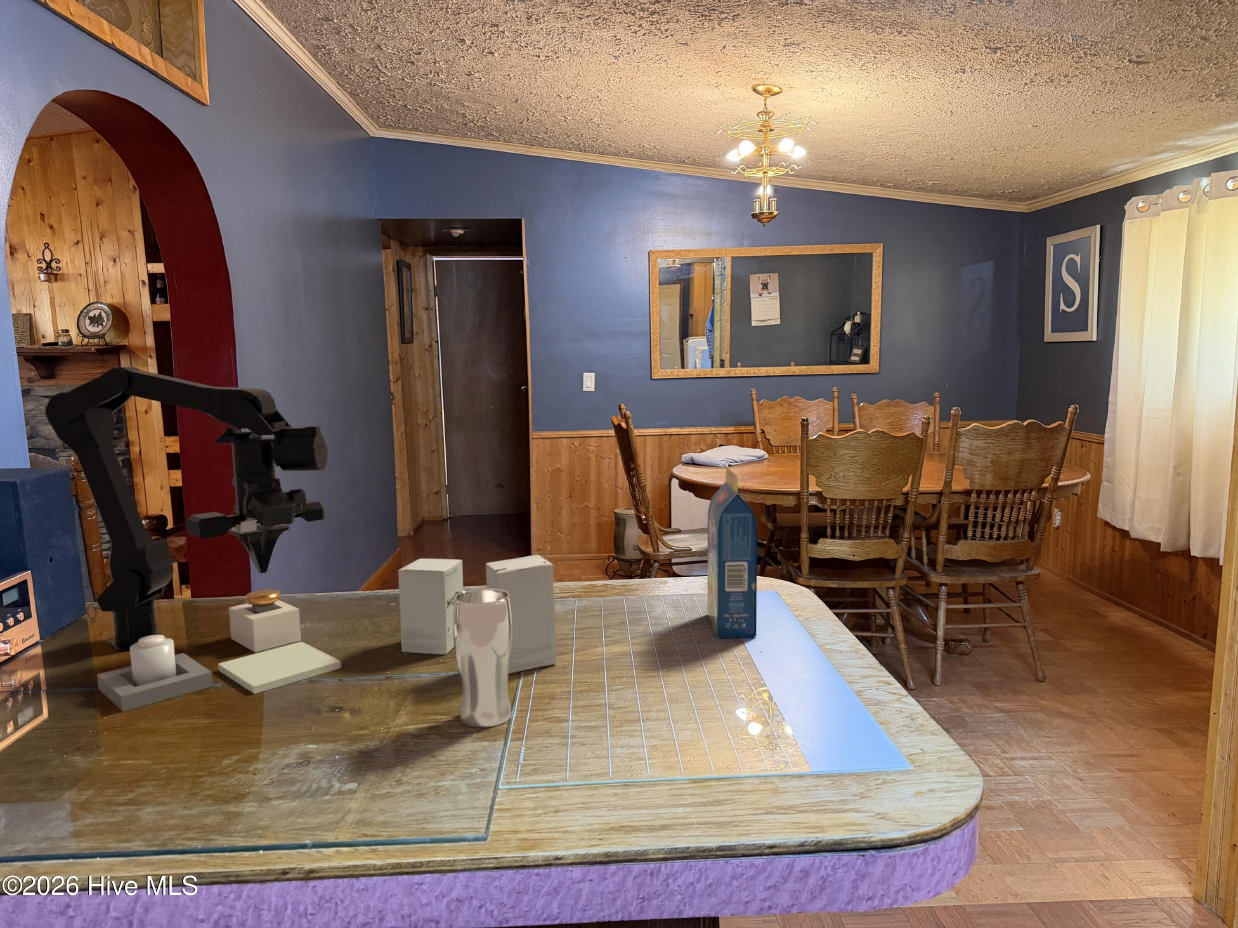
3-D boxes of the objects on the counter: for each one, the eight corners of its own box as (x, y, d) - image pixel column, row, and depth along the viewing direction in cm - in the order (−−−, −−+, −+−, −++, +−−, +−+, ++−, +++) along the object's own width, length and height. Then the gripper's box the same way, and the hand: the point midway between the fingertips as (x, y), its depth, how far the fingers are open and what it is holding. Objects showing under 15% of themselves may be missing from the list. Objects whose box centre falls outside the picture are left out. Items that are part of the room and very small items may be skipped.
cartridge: (128, 688, 108) (124, 639, 107) (169, 677, 111) (165, 629, 110) (140, 698, 104) (136, 647, 103) (182, 687, 108) (178, 637, 107)
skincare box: (543, 652, 119) (540, 553, 117) (558, 665, 114) (556, 562, 112) (487, 662, 115) (484, 560, 113) (500, 676, 110) (497, 569, 108)
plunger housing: (231, 638, 127) (228, 607, 126) (275, 627, 132) (273, 597, 131) (255, 652, 120) (252, 619, 120) (301, 640, 126) (298, 608, 125)
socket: (98, 688, 108) (97, 674, 107) (184, 666, 115) (183, 652, 115) (122, 711, 100) (121, 696, 100) (212, 686, 108) (211, 671, 108)
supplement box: (447, 655, 118) (443, 571, 117) (400, 652, 120) (396, 569, 118) (466, 638, 125) (463, 558, 124) (422, 635, 127) (418, 556, 125)
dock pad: (218, 670, 113) (218, 663, 113) (301, 647, 122) (301, 641, 122) (254, 693, 105) (253, 686, 105) (340, 667, 114) (340, 660, 114)
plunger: (243, 628, 126) (240, 594, 125) (273, 621, 129) (271, 587, 129) (255, 635, 123) (253, 600, 122) (287, 627, 126) (284, 593, 125)
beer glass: (460, 705, 101) (455, 588, 99) (516, 703, 101) (513, 586, 99) (453, 731, 94) (448, 605, 92) (514, 728, 94) (510, 603, 92)
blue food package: (744, 613, 136) (744, 465, 133) (757, 637, 124) (758, 475, 121) (706, 614, 136) (706, 466, 133) (716, 638, 124) (716, 476, 121)
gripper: (210, 484, 111) (219, 595, 113) (338, 469, 124) (344, 569, 126) (181, 477, 118) (190, 581, 120) (305, 464, 132) (311, 558, 134)
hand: (262, 572), depth 125 cm, fingers closed
